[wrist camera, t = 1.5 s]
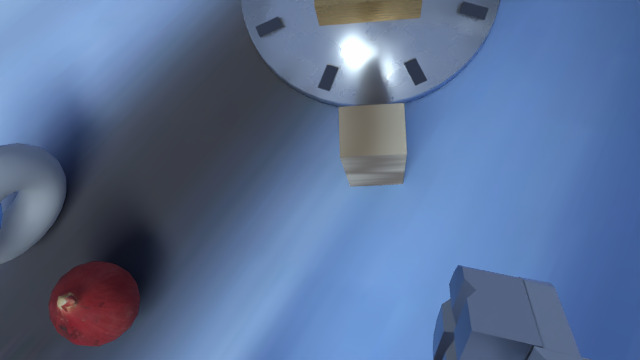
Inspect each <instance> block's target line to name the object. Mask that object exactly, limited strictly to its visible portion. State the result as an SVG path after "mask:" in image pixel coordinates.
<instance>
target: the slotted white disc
mask: <svg viewBox="0 0 640 360" xmlns="http://www.w3.org/2000/svg"><path fill="white" fill-rule="evenodd" d="M499 3H500V0H242V10H243V15H244V20H245V24H246V26H247V29H248V32H249V35H250V37H251V39H252V41H253V43H254V45H255V46H256V48H257V50H258V52H259V54H260V56H261V57H262V59H263V60H264V61H265V63H266V64H267V65H268V67H269V68H270V69H271V70H272V71H273V72H274V73H275V74H276V75H277V76H278V77H279V78H280V79H281V80H282V81H283V82H285V83H286V84H287V85H289V86H290V87H291V88H293V89H294V90H296V91H298V92H299V93H301V94H303V95H305V96H307V97H309V98H311V99H314V100H316V101H319V102H321V103H324V104H328V105H332V106H336V107H345V106H362V105H379V104H395V103H404V104H406V103H409V102H412V101H414V100H417V99H420V98H422V97H425V96H427V95H428V94H430V93H432V92H434V91H436V90H438V89H440V88H441V87H442V86H444V85H445V84H447V83H448V82H449V81H451V80H452V79H454V78H455V77H456V76H457V75H458V74H459V73H460V72H461V71H462V70H463V69H465V68H466V67H467V65H468V64H469V63H470V62H471V61H472V59H473V58H474V57H475V56H476V55H477V53H478V52H479V50H480V49H481V47H482V45H483V44H484V42H485V40H486V39H487V36H488V34H489V32H490V29H491V27H492V25H493V22H494V20H495V17H496V14H497V10H498V7H499Z"/></svg>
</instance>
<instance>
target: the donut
mask: <svg viewBox="0 0 640 360" xmlns="http://www.w3.org/2000/svg"><path fill="white" fill-rule="evenodd" d="M16 191H18V194H17V196H16V198H15V199H14V201H13V203H12V204H11V205H10V206H9V207H8V209H7V210H6V211H4V212H3V217H2V224H1V229H0V264H1V263H4V262H7V261H10V260H12V259H14V258H15V257H17V256H19V255H20V254H22V253H24V252H25V251H27V250H28V249H29V248H31V247H32V246H33V245H34V244H35V243H36V242H38V241H39V240H40V239H41V238H42V237H43V236H44V235H45V233H46V232H47V231H48V230H49V229H50V228H51V226H52V225H53V224H54V222H55V220H56V219H57V217H58V215H59V213H60V212H61V210H62V206H63V203H64V200H65V197H66V176H65V174H64V171H63V169H62V167H61V165H60V163H59V161H58V160H57V159H56V158H55V157H54V156H52V155H51V154H49V153H48V152H47V151H45V150H44V149H42V148H40V147H36V146H31V145H26V144H18V143H16V144H9V145H2V146H0V201H1V200H3V199H4V198H5V197H7V196H8V195H10V194H12V193H14V192H16Z"/></svg>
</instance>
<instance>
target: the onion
mask: <svg viewBox="0 0 640 360" xmlns="http://www.w3.org/2000/svg"><path fill="white" fill-rule="evenodd" d="M139 303H140V295H139V290H138V285H137V283H136V281H135V280H134V279H133V277H132V276H131V274H130V273H129V272H128V271H126V270H124V269H123V268H121V267H120V266H118V265H116V264H113V263H108V262H101V261H94V262H89V263H86V264H82V265H79V266H76V267H74V268H73V269H71V270H70V271H69V272H68V273H66V274H65V275H64V276H62V277H61V278H60V280H59V281H58V283H57V284H56V286H55V287H54V289H53V290H52V293H51V297H50V301H49V316H50V319H51V321H52V323H53V325H54V326H55V328H56V330H57V332H58V333H59V334H60V335H62V336H63V337H65V338H66V339H68V340H69V341H71V342H72V343H74V344H75V345H86V346H100V345H103V344H106V343H108V342H111V341H114V340H115V339H117V338H118V337H119V336H121V335H122V334H123V333H124V332H125V331H126V330H128V329H129V328H130V327H131V325H132V323H133V322H134V320H135V318H136V316H137V315H138V310H139Z"/></svg>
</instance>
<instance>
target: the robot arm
mask: <svg viewBox="0 0 640 360" xmlns="http://www.w3.org/2000/svg"><path fill="white" fill-rule="evenodd" d="M2 217H3V213H2V206H1V203H0V229H1V224H2ZM449 286H450V297H451V299H449V300H448V301H446V302H445V303H443V304H442V305H441V308H440V311H439V314H438V317H437V321H436V326H435V331H434V338H433V360H591V359H587V358H583V357H581V355H580V352H579V350H578V347H577V344H576V342H575V339H574V337H573V334H572V331H571V329H570V326H569V323H568V321H567V318H566V316H565V313H564V310H563V308H562V305H561V303H560V300H559V297H558V295H557V292H556V290H555V287H554V286H553V285H551V284H550V283H547V282H542V281H537V280H531V279H526V278H521V277H519V278H518V277H513V276H508V275H503V274H499V273H494V272H489V271H484V270H479V269H475V268H470V267H465V266H460V265H458V266H457V268H456V269H455V271H454V273H453V276H452V278H451V281H450V284H449Z"/></svg>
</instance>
